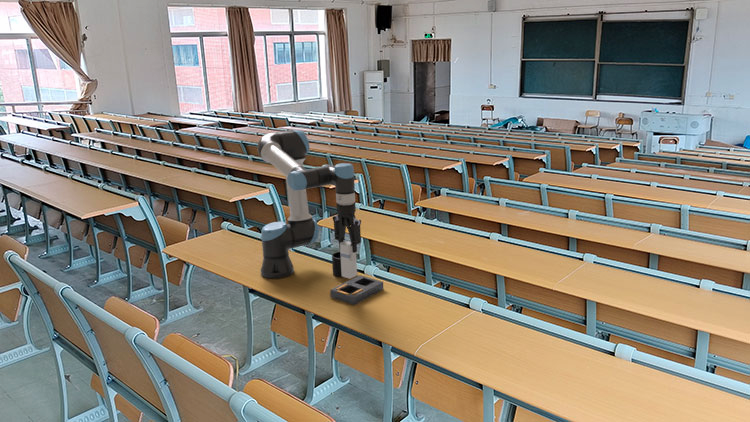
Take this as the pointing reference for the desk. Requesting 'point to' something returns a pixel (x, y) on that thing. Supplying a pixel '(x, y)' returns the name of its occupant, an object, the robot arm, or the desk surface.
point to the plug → (347, 261)
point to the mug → (336, 264)
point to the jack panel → (356, 289)
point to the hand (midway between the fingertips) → (348, 258)
